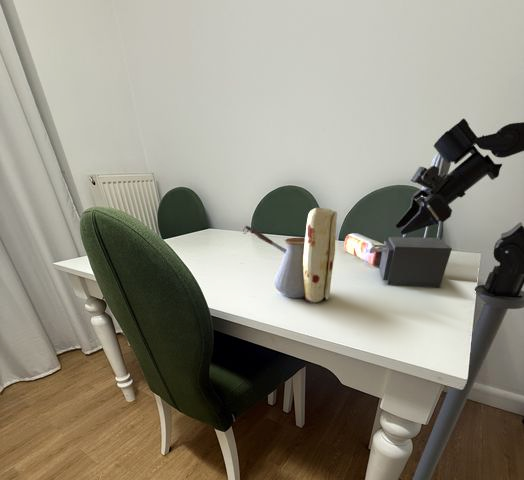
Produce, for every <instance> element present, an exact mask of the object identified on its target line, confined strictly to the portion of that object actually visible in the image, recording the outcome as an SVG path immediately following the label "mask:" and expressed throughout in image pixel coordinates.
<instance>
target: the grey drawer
mask: <svg viewBox="0 0 524 480" xmlns="http://www.w3.org/2000/svg"><path fill="white" fill-rule="evenodd" d="M383 244H384V245H374V243H372V242H371V243H369V245H368V247H369V251H370V253H375V251H382V256H381V261H380V266H378V269H379V272H380V275H381V279H382V281H386V280H388V276H389V271H390V267H391V262H392V257H393V252H394V249H393V248H392V246H391V244H390V242H389V240H384V241H383ZM375 247H383V249H376V248H375Z"/></svg>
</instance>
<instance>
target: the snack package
mask: <svg viewBox="0 0 524 480" xmlns="http://www.w3.org/2000/svg"><path fill="white" fill-rule="evenodd" d="M371 242H372V243H374V245H384V243H382V242H380V241H377V240H375V239H372V238H370V237H366V236H365V235H363V234H361V233H358V232H357V233H356V232H352V233H349V234H347V235H346V237H345V239H344V244H343V250H344V252H346V253H348V254H350V255H352V256H354V257H357V258H358V259H360V260H362V261H364V262H366V263H368V264H369V265H371V266H373V267H380V261H381V256H382V251H375V253H370V251H369V247H368V245H369V243H371ZM375 248H376V249H383V247H375Z"/></svg>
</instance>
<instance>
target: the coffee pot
mask: <svg viewBox="0 0 524 480" xmlns="http://www.w3.org/2000/svg"><path fill="white" fill-rule="evenodd" d="M245 230H247V231H246V232H244V231H245ZM248 232H250V233H251V234H253V235H254V236H256V237H257V238H258V239H259V240H261V241H264V242H265V243H267V244H269V245H271V246H273V247H274V248H276V249H277V250H279V251H280V252H282V253H283V254H284V255H283V258H282V260H281V262H280V264H279V267H278V270H277V273H276V275H275V276H274V280H273V285H274V287H275V289H276V290H277V291H278V292H280V294H281V295H282V296H283V297H286V298H291V299H303V298H305V289H304V276H303V254H304V244H305V237H289V238H286V239H284V240H283V242H284V244H285V246H286V248H284V247H282V246H281V245H279V244H278V243H276V242H274V241H273V240H272V239H270V238H269V237H267V235H265V234H263V233H261V232H259V231H257V230H255V228H252V227H250V226H248V225H245V227H244V228H243V230H242V233H243V234H244V235H246V234H247V233H248Z"/></svg>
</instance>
